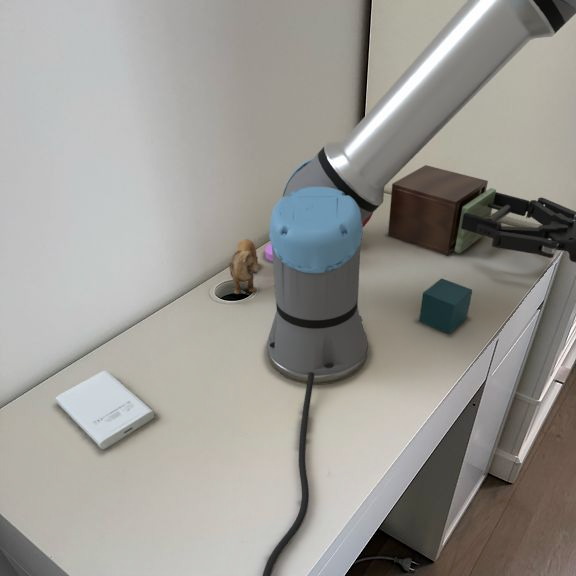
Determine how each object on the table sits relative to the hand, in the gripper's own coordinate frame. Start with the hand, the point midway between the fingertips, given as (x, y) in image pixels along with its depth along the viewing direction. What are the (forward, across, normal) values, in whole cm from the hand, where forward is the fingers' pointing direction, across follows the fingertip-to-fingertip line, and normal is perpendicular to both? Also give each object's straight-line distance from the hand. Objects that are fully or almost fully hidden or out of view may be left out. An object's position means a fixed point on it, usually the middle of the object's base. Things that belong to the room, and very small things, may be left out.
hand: (478, 209), depth 100 cm
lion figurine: (+25, -36, -8) cm, 44 cm away
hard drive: (+16, -72, -8) cm, 75 cm away
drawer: (+4, 0, -7) cm, 8 cm away
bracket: (+24, -25, -8) cm, 35 cm away
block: (-8, -24, -8) cm, 27 cm away
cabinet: (+9, 0, -8) cm, 11 cm away
